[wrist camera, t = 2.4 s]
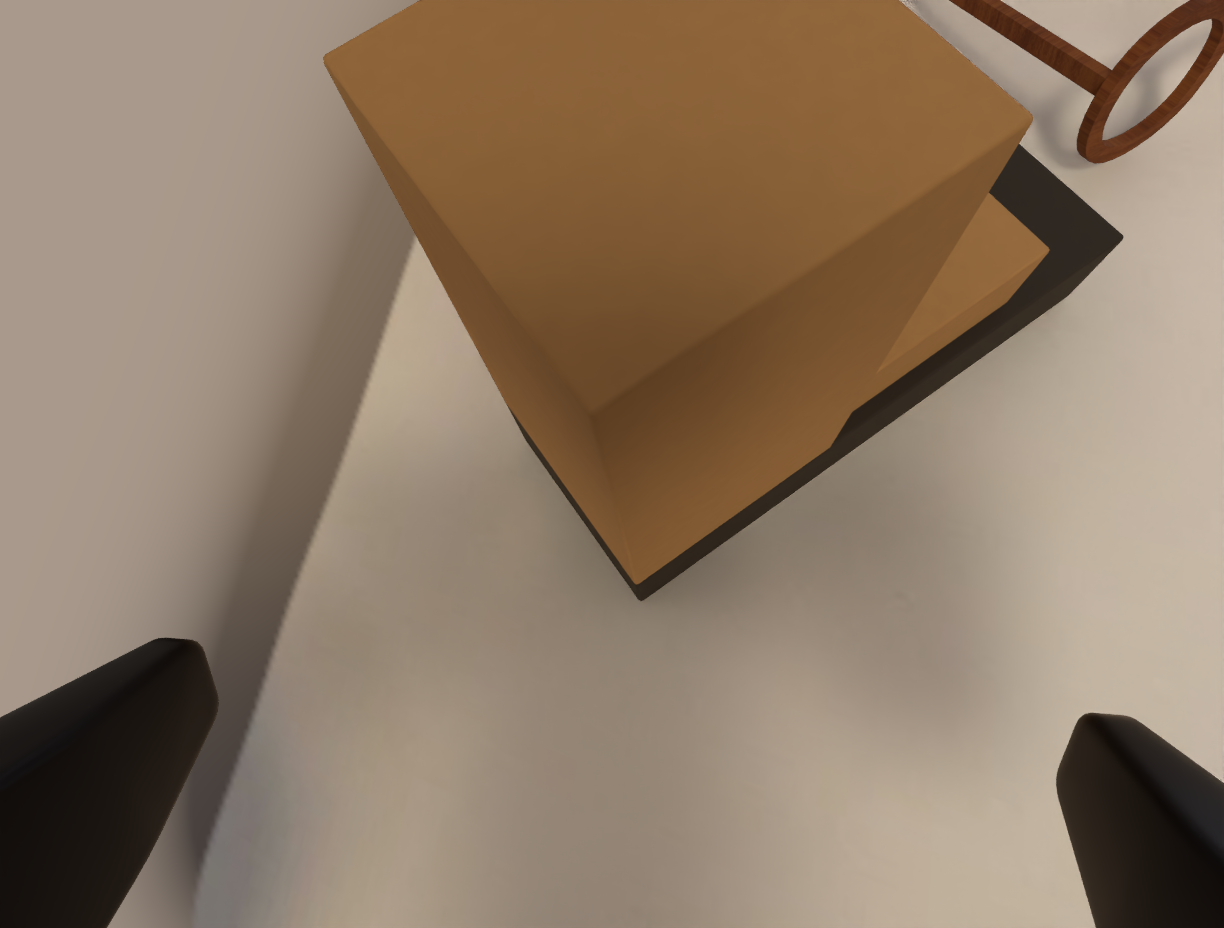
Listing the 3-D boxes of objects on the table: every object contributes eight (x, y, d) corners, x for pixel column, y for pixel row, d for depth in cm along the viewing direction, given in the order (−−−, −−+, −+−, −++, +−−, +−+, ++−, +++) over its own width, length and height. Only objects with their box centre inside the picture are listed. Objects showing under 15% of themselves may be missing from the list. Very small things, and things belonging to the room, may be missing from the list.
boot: (640, 602, 21) (590, 418, 7) (524, 439, 23) (318, 54, 9) (1069, 295, 23) (1633, -286, 9) (931, 166, 24) (1244, -475, 11)
